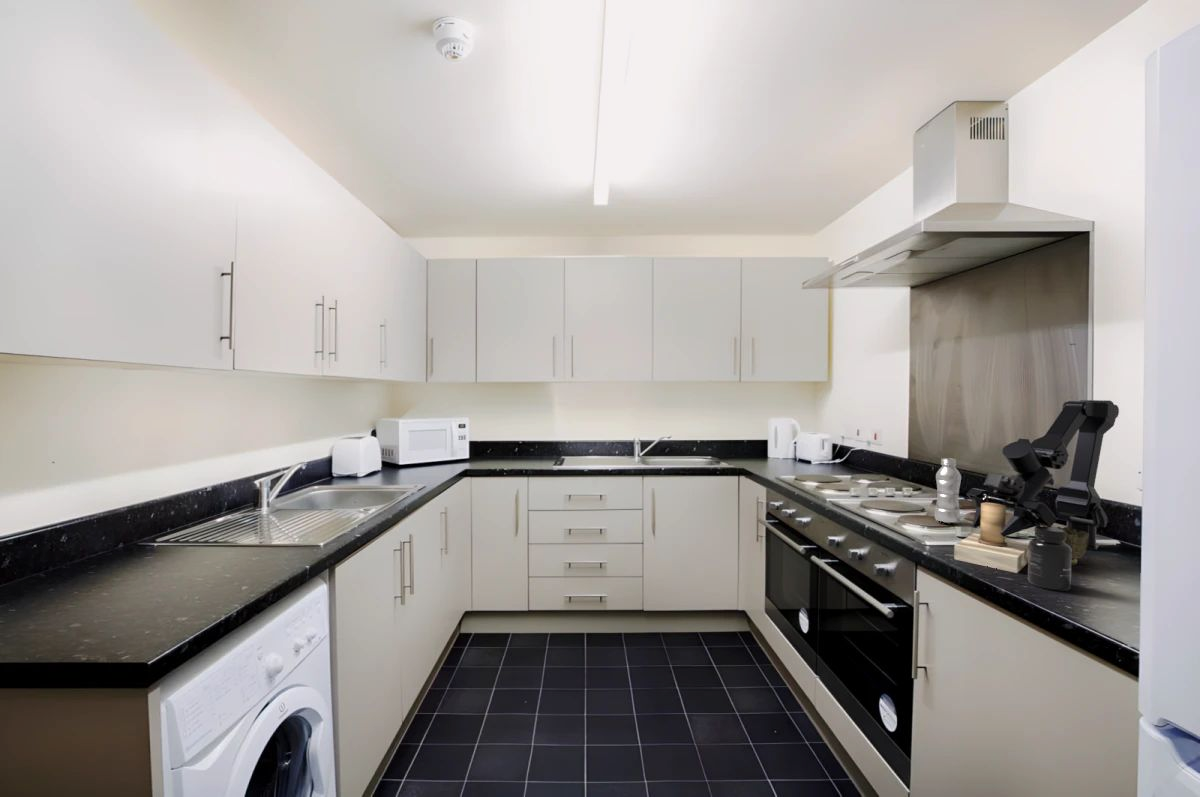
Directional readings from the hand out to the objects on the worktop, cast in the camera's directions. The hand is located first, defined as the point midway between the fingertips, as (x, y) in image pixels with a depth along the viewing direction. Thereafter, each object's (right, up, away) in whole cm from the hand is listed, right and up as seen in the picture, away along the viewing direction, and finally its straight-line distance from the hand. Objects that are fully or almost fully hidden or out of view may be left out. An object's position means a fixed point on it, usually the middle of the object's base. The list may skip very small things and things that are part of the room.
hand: (987, 530), depth 125 cm
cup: (+16, -7, -3) cm, 18 cm away
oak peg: (+1, -6, 0) cm, 7 cm away
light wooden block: (+1, -7, -1) cm, 7 cm away
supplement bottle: (0, -7, -17) cm, 19 cm away
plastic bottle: (+12, -6, +33) cm, 35 cm away
